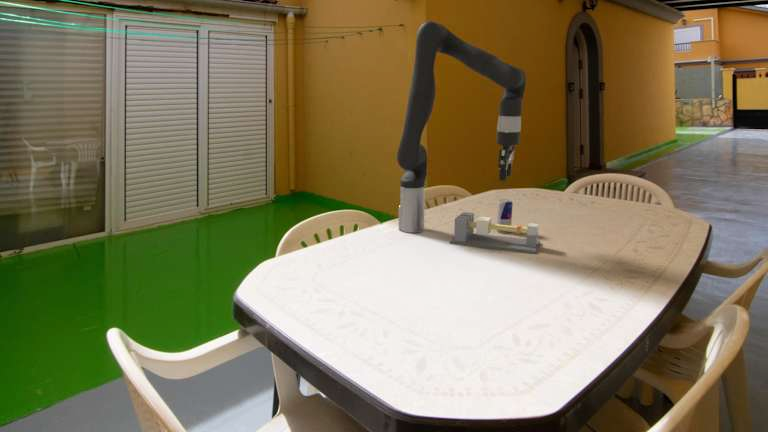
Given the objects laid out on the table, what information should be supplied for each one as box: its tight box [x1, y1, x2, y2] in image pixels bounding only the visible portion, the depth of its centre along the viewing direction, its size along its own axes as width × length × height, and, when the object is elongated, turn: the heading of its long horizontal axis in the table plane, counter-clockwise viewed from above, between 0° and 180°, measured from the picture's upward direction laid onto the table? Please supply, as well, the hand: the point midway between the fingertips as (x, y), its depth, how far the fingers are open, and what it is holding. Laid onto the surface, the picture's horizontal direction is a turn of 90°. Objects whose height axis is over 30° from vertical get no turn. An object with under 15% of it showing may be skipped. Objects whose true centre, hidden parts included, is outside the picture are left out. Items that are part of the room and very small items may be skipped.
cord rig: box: [453, 211, 540, 248], centre depth 159 cm, size 27×11×8 cm, turn 65°
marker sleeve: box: [475, 216, 492, 235], centre depth 160 cm, size 4×5×5 cm
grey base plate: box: [449, 232, 541, 255], centre depth 160 cm, size 29×12×1 cm, turn 65°
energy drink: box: [496, 198, 513, 234], centre depth 173 cm, size 5×5×12 cm
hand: (504, 178), depth 156 cm, fingers open, 8 cm apart
